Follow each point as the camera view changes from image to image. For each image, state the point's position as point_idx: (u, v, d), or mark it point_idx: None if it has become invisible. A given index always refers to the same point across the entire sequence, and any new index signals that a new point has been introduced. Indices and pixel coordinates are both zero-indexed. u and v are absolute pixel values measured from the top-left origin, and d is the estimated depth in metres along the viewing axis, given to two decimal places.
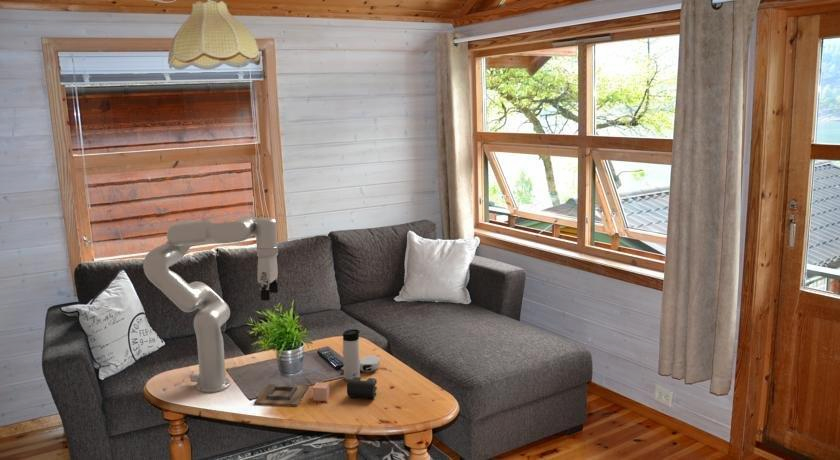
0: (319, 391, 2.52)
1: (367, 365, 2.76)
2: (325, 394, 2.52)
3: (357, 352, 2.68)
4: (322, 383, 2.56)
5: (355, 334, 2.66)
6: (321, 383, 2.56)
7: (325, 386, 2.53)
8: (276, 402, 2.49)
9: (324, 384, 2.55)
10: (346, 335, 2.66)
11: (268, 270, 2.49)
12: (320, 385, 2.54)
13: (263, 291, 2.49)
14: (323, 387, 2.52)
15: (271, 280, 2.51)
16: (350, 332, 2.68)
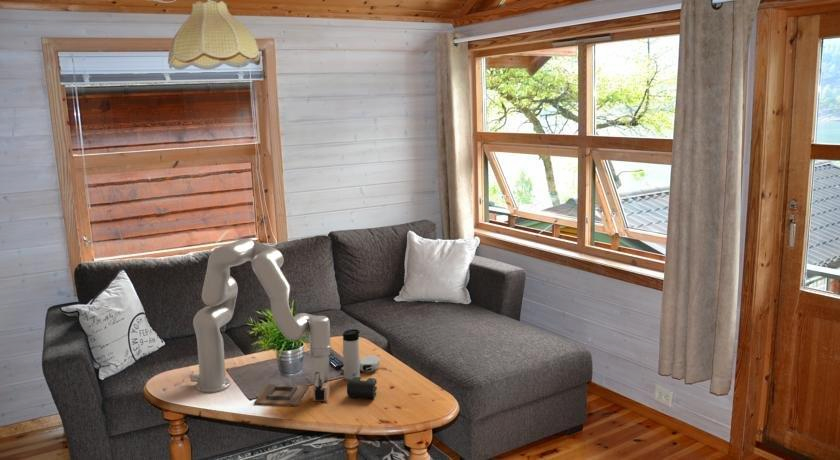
0: None
1: (367, 365, 2.76)
2: (325, 394, 2.52)
3: (357, 352, 2.68)
4: None
5: (355, 334, 2.66)
6: None
7: (325, 386, 2.53)
8: (276, 402, 2.49)
9: (324, 384, 2.55)
10: (346, 335, 2.66)
11: (321, 370, 2.48)
12: (320, 384, 2.54)
13: (318, 391, 2.51)
14: (323, 387, 2.52)
15: (324, 379, 2.50)
16: (350, 332, 2.68)
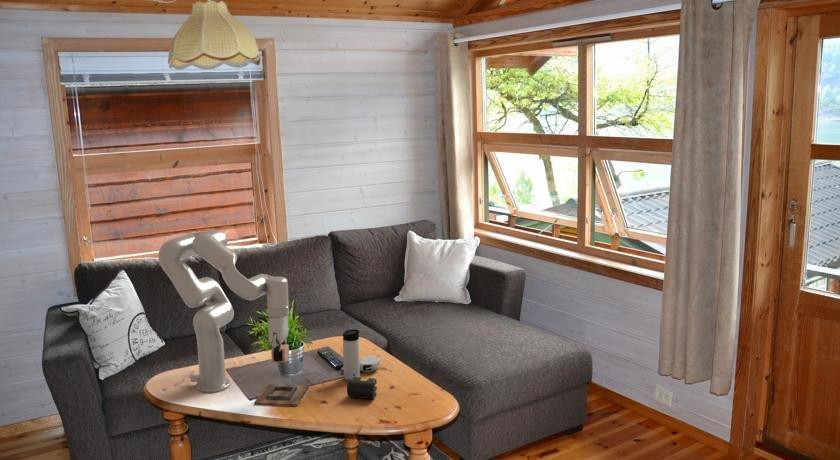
0: None
1: (367, 365, 2.76)
2: (283, 355, 2.51)
3: (357, 352, 2.68)
4: (281, 344, 2.54)
5: (355, 334, 2.66)
6: None
7: (284, 347, 2.52)
8: (276, 402, 2.49)
9: (283, 346, 2.53)
10: (346, 335, 2.66)
11: (279, 330, 2.46)
12: (278, 346, 2.53)
13: (276, 352, 2.49)
14: (281, 348, 2.51)
15: (282, 340, 2.49)
16: (350, 332, 2.68)
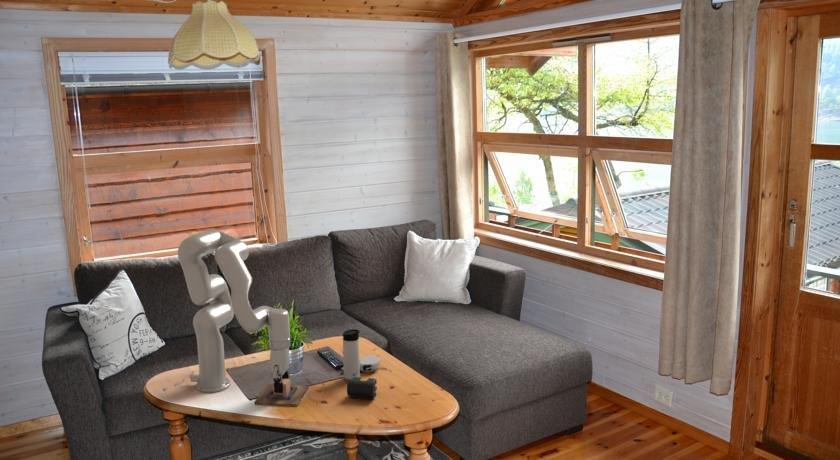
0: None
1: (367, 365, 2.76)
2: (285, 390, 2.53)
3: (357, 352, 2.68)
4: (282, 379, 2.57)
5: (355, 334, 2.66)
6: None
7: (285, 382, 2.54)
8: (276, 402, 2.49)
9: (284, 380, 2.56)
10: (346, 335, 2.66)
11: (280, 363, 2.49)
12: None
13: (276, 384, 2.51)
14: (283, 383, 2.54)
15: (283, 372, 2.51)
16: (350, 332, 2.68)
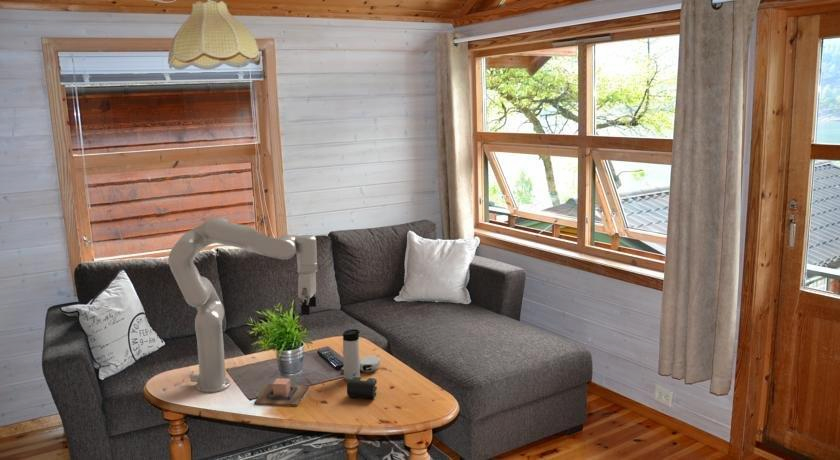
0: (279, 388, 2.53)
1: (367, 365, 2.76)
2: (285, 390, 2.53)
3: (357, 352, 2.68)
4: (282, 379, 2.57)
5: (355, 334, 2.66)
6: (281, 379, 2.57)
7: (285, 382, 2.54)
8: (276, 402, 2.49)
9: (284, 380, 2.56)
10: (346, 335, 2.66)
11: (308, 286, 2.59)
12: (280, 381, 2.56)
13: (303, 306, 2.60)
14: (283, 383, 2.54)
15: (311, 295, 2.61)
16: (350, 332, 2.68)
